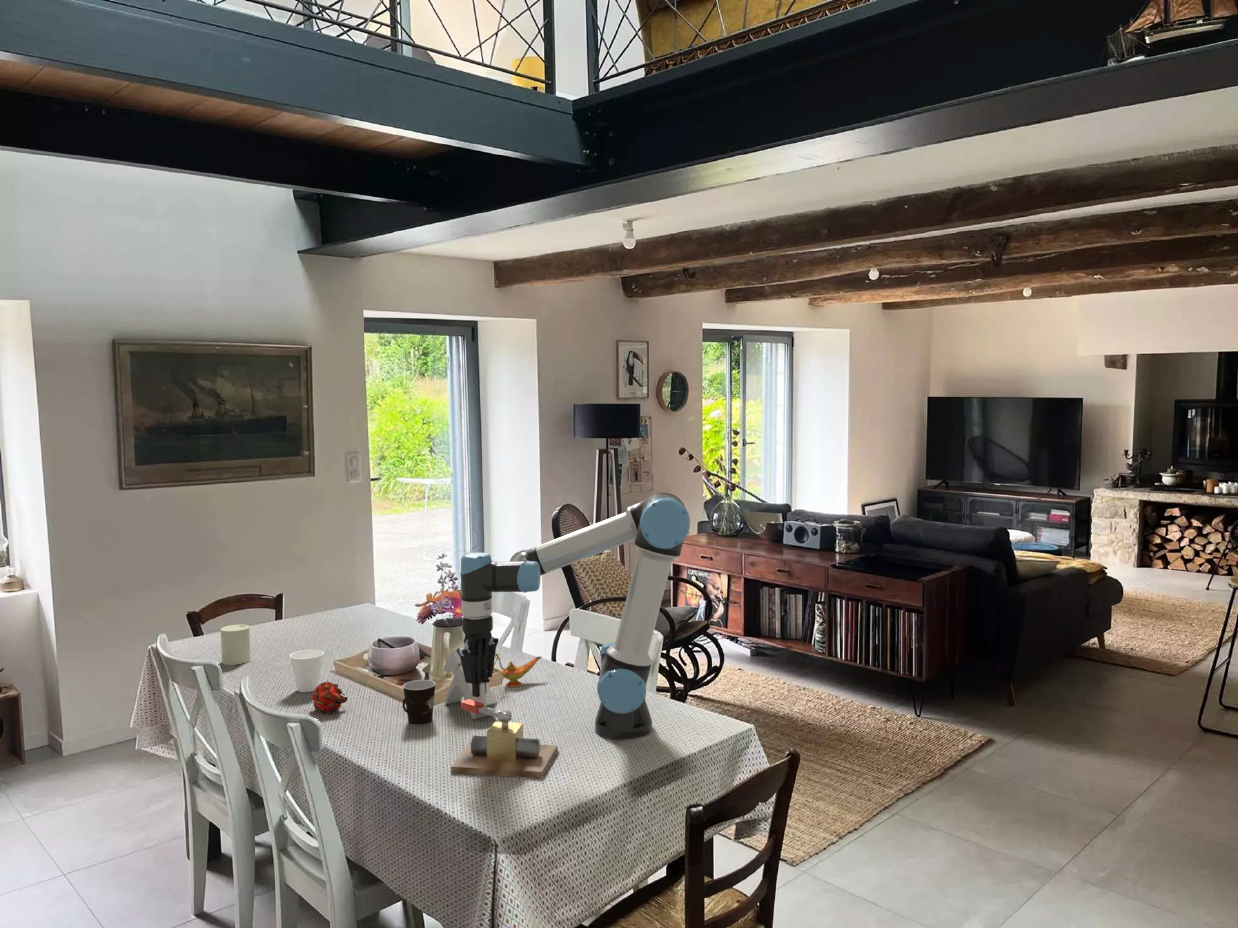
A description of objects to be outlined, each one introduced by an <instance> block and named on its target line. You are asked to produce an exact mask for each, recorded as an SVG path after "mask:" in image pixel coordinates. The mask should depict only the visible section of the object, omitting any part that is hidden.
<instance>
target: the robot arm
mask: <svg viewBox="0 0 1238 928" xmlns="http://www.w3.org/2000/svg"><path fill="white" fill-rule="evenodd" d="M690 524H691V520H690V515H689V511H688V509H687V508H686V505H685V504H684V502H683V501H682V500H681V499H680V498H679V497H678V496H676V495H674V494H672V493H669V492H659V493H656V494H653V495H651V496H649V497H647V498H645V499H644V500H641V501H640V502H637V503H635V504H632V505H630V506H628V507H627V509H626V511H625V512H623V513H619V514H618V515H615V516H612V517H610V518H607V519H605V520H602V521H599V522H597V523H594V524H591V525H589V526H586V527H583V528H580V529H578V530H575V531H572V532H570V533H568V534H565V535H563V536H560V537H557V538H555V539H552V540H549V541H547V542H544V543H542V544H539V545H537V546H535V547H532V548H529V549H522V550H520V551H517V552H515V553H514V554H513V555H512V556H511V557H510V560H508V561H493V560H492V556H491V554H489V553H488V552H469V553H465V554H464V555H462V557H461V558H460V573H459V575H460V591H461V597H460V598H461V615H462V616H463V617H462V618H461V622H462V623H461V628H462V632H463V634H464V639H463V645H462V646H461V647H458V648H457V649H456V650H457V653H458V654H459V656H460V659H461V664H462V668H463V673H464V677H465V681H466V683H470V684H472V695H473V697H474V701H477V702H480V703H483V704H484V706H486V696H485V694H486V692H487V689H486V683H489V682H491V680H490V678H492V677H493V674H494V669H493V667H494V668H495V665H494V663H495V660H496V658H495V653H496V652H497V646H498V643H499V638H498V637H494V636H492V635H493V634H492V631H493V629H494V625H493V623H494V619H493V618H494V617H493V616H492V613H493V599H492V598H493V596H492V595H493V594H492V593H528V592H538V590H539V589H540V586H541V576H543V575H546V574H547V573H548V574H549V573H551V572H554V571H555V570H559V569H561V568H564V567H566V566H569V565H572V564H575V563H577V562H579V561H582V560H585V559H588V558H590V557H593V556H596V555H598V554H601V553H603V552H606V551H609V550H611V549H614V548H617V547H619V546H622V545H624V544H627V543H631V542H632V541H634V542H633V545H634V547H635V549H636V551H637V556H636V560H635V563H634V568H633V572H632V576H631V579H630V584H629V586H628V591H627V595H626V599H625V601H624V602H625V603H624V606H623V610H622V614H621V618H620V622H619V625H618V629H617V633H616V637H615V641H614V642H607V643H604V644H602V645H601V648H600V654H599V656H600V671H599V672H600V673H599V678H598V682H597V686H596V690H597V695H598V699H599V700H600V704H599V707H598V709H597V714H596V716H595V720H594V729H595V730H594V731H595V732H596V733H597V734H598V735H600V736H601V737H604V738H608V739H613V740H633V739H638V738H642V737H645V736H647V735H649V734H650V733H651V732H652V731H653V720H652V716H651V713H650V711H649V707H648V704H647V702H646V696H647V684H648V679H649V675H650V671H651V667H652V663H653V660H652V658H651V657H650V655H649V651H650V647H651V642H652V640H653V636H654V632H655V627H656V625H657V620H658V617H659V614H660V613H659V612H660V608H661V605H662V601H663V598H664V593H665V590H666V585H667V583H668V582H667V581H668V578H669V574H670V570H671V567H672V564H673V561H675V560H677V559H678V558H680V556H681V553H682V549H683V546H684V543H685V542H684V541H685V539H686V537H687V535H688V534H689V530H690V526H691V525H690Z"/></svg>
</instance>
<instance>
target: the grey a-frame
mask: <svg viewBox="0 0 1238 928" xmlns="http://www.w3.org/2000/svg"><path fill="white" fill-rule="evenodd" d="M446 659H447V660H446V664H445V665H444V667H443V672H451V673H452V675H453V678H452V681H451V683H450V685H449V688H448V691H447V694H446V696H445V700H444V704H445V705H449V704H454V703H459V702H462V701H463V699H464V701H465V700H468V699H470V700H473V701H474V697H473V695H472V684H470V683H466V681H465V677H464V673H463V668H462V664H461V659H460V656H459V654H458V653H457V649H455V650H451V652H450V653H449V655H448V657H447V658H446ZM486 689H487V692H486V694H485V696H486V707H489V708H492V709H497V708H496V707H497V705H498V703H499V702H498V699H497V698H496V696H495V695H494V693H493V692H492V690H491V688H490V687H489V685H488V682H486ZM470 715H471V717H472V720H477V719H481V718H484V717H488V716H489V715H487V714H484V713H480V712H479V713H477V714H476V713H473V712H470Z"/></svg>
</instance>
